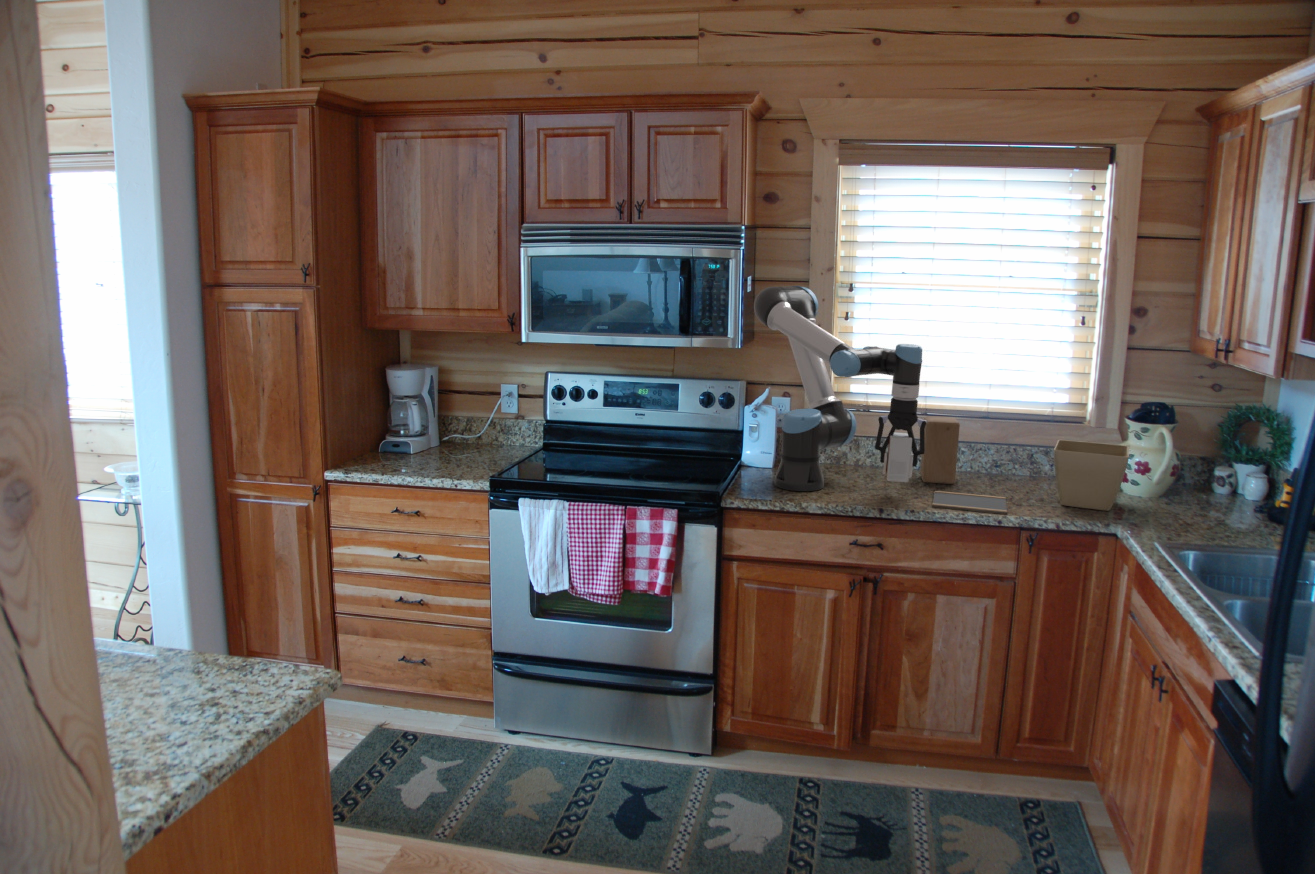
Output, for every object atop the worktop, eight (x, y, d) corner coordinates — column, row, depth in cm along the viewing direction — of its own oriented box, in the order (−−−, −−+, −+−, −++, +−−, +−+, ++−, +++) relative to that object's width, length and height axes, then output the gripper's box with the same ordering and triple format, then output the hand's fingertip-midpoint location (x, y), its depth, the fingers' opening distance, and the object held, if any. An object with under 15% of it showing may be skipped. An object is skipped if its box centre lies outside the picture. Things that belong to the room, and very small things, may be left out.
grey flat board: (931, 507, 253) (932, 503, 253) (934, 493, 268) (934, 490, 268) (1007, 514, 247) (1007, 511, 247) (1005, 500, 261) (1005, 497, 261)
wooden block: (955, 485, 279) (960, 422, 275) (922, 483, 281) (926, 420, 277) (951, 477, 288) (956, 417, 285) (919, 475, 290) (923, 415, 287)
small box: (885, 474, 267) (889, 431, 264) (907, 475, 266) (911, 433, 263) (885, 480, 259) (890, 437, 256) (908, 482, 258) (912, 439, 255)
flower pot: (1052, 492, 272) (1058, 438, 268) (1122, 500, 263) (1129, 444, 260) (1047, 507, 255) (1053, 449, 252) (1122, 516, 246) (1129, 457, 243)
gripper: (868, 397, 257) (862, 474, 262) (939, 403, 251) (931, 482, 256) (871, 393, 264) (865, 468, 269) (940, 399, 257) (932, 475, 263)
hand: (897, 474), depth 262 cm, fingers closed on small box, 7 cm apart
